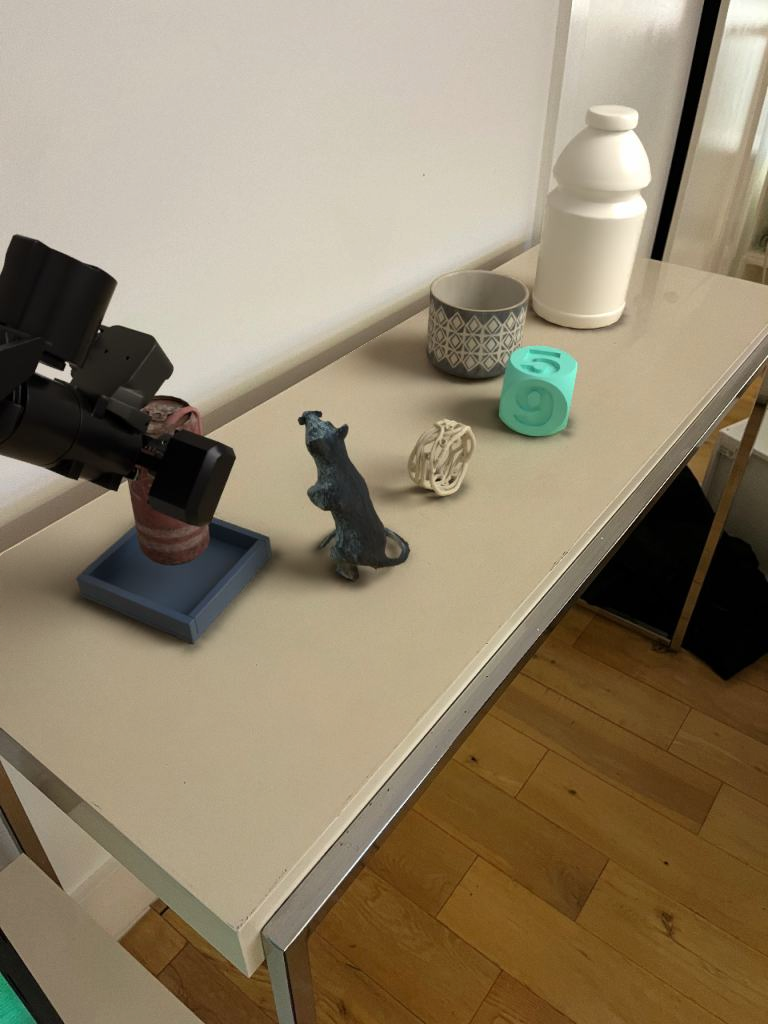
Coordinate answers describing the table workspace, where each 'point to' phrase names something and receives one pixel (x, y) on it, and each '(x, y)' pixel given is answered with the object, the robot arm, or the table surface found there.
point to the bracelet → (455, 433)
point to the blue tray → (176, 580)
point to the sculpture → (346, 502)
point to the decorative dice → (537, 390)
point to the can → (154, 530)
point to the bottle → (593, 222)
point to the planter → (475, 322)
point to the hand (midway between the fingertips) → (180, 472)
